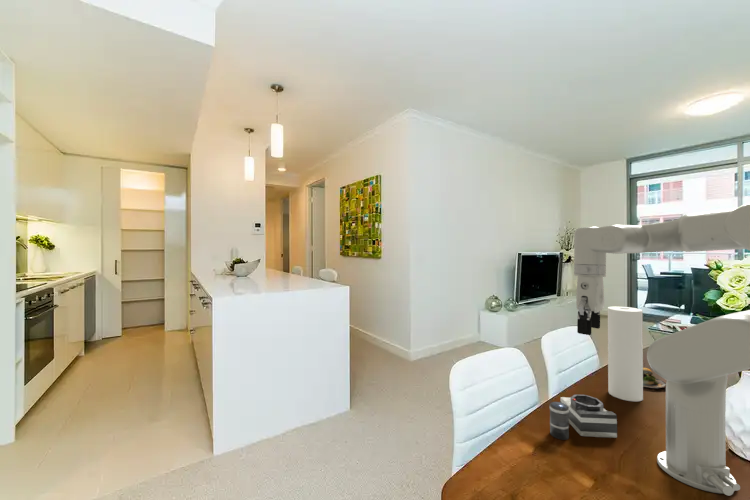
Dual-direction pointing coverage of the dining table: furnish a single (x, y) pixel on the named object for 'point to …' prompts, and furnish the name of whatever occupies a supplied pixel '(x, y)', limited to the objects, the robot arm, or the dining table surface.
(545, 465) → the dining table surface
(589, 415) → the grey striped block
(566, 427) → the lens
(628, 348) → the cylinder container
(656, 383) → the white patterned bowl
